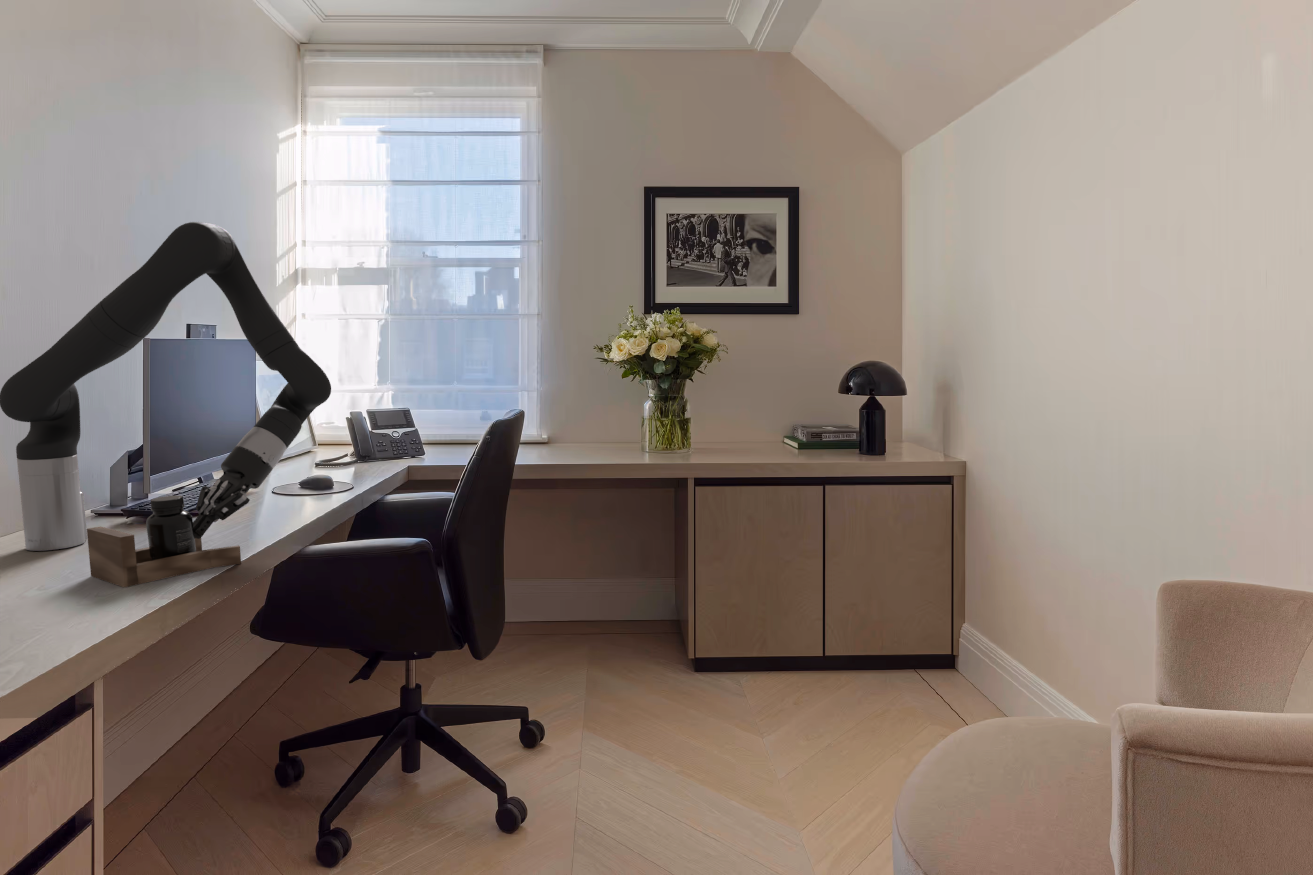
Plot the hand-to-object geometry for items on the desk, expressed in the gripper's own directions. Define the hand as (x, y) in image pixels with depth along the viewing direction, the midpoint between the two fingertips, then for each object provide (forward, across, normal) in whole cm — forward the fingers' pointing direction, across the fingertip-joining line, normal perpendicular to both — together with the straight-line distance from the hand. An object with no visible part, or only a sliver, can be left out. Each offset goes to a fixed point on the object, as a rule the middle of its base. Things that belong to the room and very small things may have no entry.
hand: (192, 535), depth 143 cm
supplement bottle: (+6, 0, +1) cm, 6 cm away
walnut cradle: (+7, 0, 0) cm, 7 cm away
